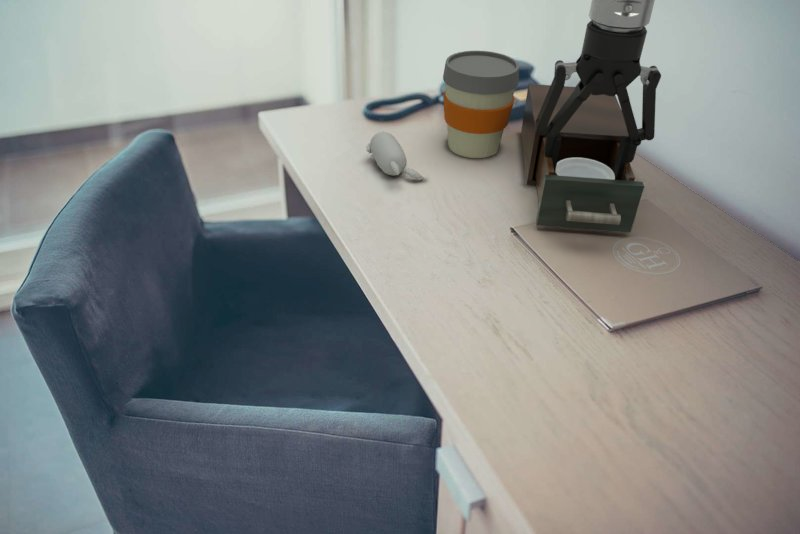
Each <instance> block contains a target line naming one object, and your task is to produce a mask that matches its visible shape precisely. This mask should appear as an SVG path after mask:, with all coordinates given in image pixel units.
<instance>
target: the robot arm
mask: <svg viewBox="0 0 800 534" xmlns="http://www.w3.org/2000/svg"><path fill="white" fill-rule="evenodd" d="M655 1H656V0H591V3H590V6H589V7H590V8H589V13H588V17H589V19H590V21H588V22H587V24H586V29H585V34H584V37H583V43H582V49H581V53H580V55H579V57H578V58H577V59H576V61H575V62H574V61H573V62H564V61H563V60H561V59H559V60H556V62H555V63H554V76H553V79H552V81H551V84H550V85H551V86H550V88H549V91H548V93H547V95H546V98H545V100H544V103H543V105H542V107H541V110H540V112H539V114H538V117H537V119H536V122H535V124H536V130H537V132H538V133H543V134H545V135H546V139H545V145H544V154H545V157H552V162H553V167H554V175H555V170H556V165H557V160H558V155H559V150H560V145H561V136H560V131H561V130H562V129H563V127H564V126H565V125H566V123H567V122H568V121H569V120H570V118H571V117H572V116H573V114H574V113H575V112H576V110H577V109H578V108H579V107H580V105H581V104H582V103H583V102H584V101H586V100H587V98H588V97H589V96H590V95H591V94H592V95H602V94H604V95H607V96H616V97H617V101H618V103H619V106H620V108H621V110H622V114H623V117H624V121H625V124H626V128H627V131H628V134H629V135H628V137H627V136H622V137H621V141H620V145H619V149H618V153H617V157H616V161H615V165H614V168H613V172H614V174H615V180H621V178H622V174H623V171H624V167H625V164H626V162H629V163H630V164H631V163H632V162H633V161H634V159H635V155H636V152H637V148H638V146H640V145H641V144H642V141H652V140H653V139H655V131H656V130H655V128H656V101H657V100H656V99H657V88H658V85H659V83H660V81H661V79H662V73H661V72H660V70H659V69H658V67H657V66H656V65H651V66H649V67H648V66H642V65H641V58H642V53H643V49H644V46H645V41H646V37H647V34H648V29H647V28H646V26H648V25H649V24H650V21H651V17H652V13H653V9H654V6H655ZM574 73H576V74H577V76H578V78H579V81H578V83H577V84H576V86H574V87H575V90H574V91H573V93H572V94H571V95H570V97H569V98H568V99H567V101H566V102H565V103H564V105H563V106H562V107H561V109H560V110H559V111H558V113H557V114H556V115H555V117H554V118H553V119H552V121H551V122H550V123H548V122H549V120H550V118H551V115H552V113H553V111H554V109H555V106H556V104H557V102H558V99H559V97H560V95H561V92H562V90H563V88H564V86H565V85H566V81H568V80H570V79H571V77H572V75H573V74H574ZM638 77H640V82H641V84H642V104H641V105H642V106H641V107H642V109H641V110H642V111H641V112H642V113H641V127H639V128H638V126H637V122H636V118H635V114H634V111H633V108H632V104H631V100H630V96H629V92H628V89H627V87H629V86H630V84H632V83H633V82H634V81H635V80H636V79H637V78H638Z"/></svg>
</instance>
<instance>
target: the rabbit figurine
mask: <svg viewBox="0 0 800 534" xmlns="http://www.w3.org/2000/svg"><path fill="white" fill-rule="evenodd" d="M369 141H370V142H369V143H368V144H366V152H367V153H368V154H372V155H371V159H372V160H374V161H375V162H376V165H377V166H378V167H379V168H380V169H381V171H382V172H383V173H385V175H388V176H393V177H395V176H399V175H400V174H401V173H402V172H403V171H404V173H405V174H406V175H407V176H408V177H410V178H411V179H414V180H417V181H421V180H423V179H424V177H423V176H422V174H420V173H419V172H418V171H416V170H415V169H413V168H411V167H407V165H408V164H407V156H406V153H405V152H404V149H403V148H402V146H401V144H400V143H399V140H398V139H397V138H396V137H395V136H394V135H393V134H392V133H391V132H388V131H385V130H383V131H378V132H377V133H375V134H374V135H373V136H372V137H371V139H370V140H369Z"/></svg>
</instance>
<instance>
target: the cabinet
mask: <svg viewBox="0 0 800 534" xmlns="http://www.w3.org/2000/svg"><path fill="white" fill-rule="evenodd" d="M550 86H551V84H550V85H549V84H534V83H528V85H527V91H526V99H525V105H524V110H523V117H522V124H521V130H520V138H521V147H522V156H523V164H524V165H523V166H524V174H525V184H526V185H527V186H537V185H536V177H535V170H534V167H535V161H536V156H537V150H538V144H539V138H540V135H543V136H546V135H545V134H543V133H538V132H537V130H536V124H535V122H536V119H537V117H538V114H539V112H540V110H541V107H542V105H543V103H544V100H545V98H546V95H547V93H548V91H549V88H550ZM575 87H576V86H565V85H564V88H563V90H562V92H561V95H560V97H559V99H558V102H557V104H556V106H555V109H554V111H553V113H552V115H551V118H550V120H549V122H548V123H550V122H551V121H552V119H553V118H554V117H555V115H556V114H557V113H558V111H559V110H560V109H561V107H562V106H563V105H564V103H565V102H566V101H567V99H568V98H569V97H570V95H571V94H572V93H573V91H574V90H575ZM628 135H629V134H628V131H627V128H626V124H625V121H624V117H623V114H622V110H621V107H620V103H619V100H618V97H617V95H615V96H607V95H604V94H602V95H592V94H591V95H590V96H589V97H588V98H587V100H586V101H584V102H583V103H582V104H581V105H580V107H579V108H578V109H577V110H576V112H575V113H574V114H573V116H572V117H571V118H570V120H569V121H568V122H567V123H566V125H565V126H564V127H563V129H562V130H561V131H560V136H561V137H572V138H586V139H601V140H616V141H621V137H622V136H627V137H628Z"/></svg>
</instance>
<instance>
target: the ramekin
mask: <svg viewBox="0 0 800 534" xmlns="http://www.w3.org/2000/svg"><path fill="white" fill-rule="evenodd" d="M555 175H556V176H570V177H584V178H598V179H612V180H615V174H614V172H613V171H612V170H611V169H610V168H609V167H608V166H606V165H605V164H603V163H601V162H598V161H595V160H591V159H587V158H566V159H563V160H561V161H559V162H557V165H556V170H555Z"/></svg>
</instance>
